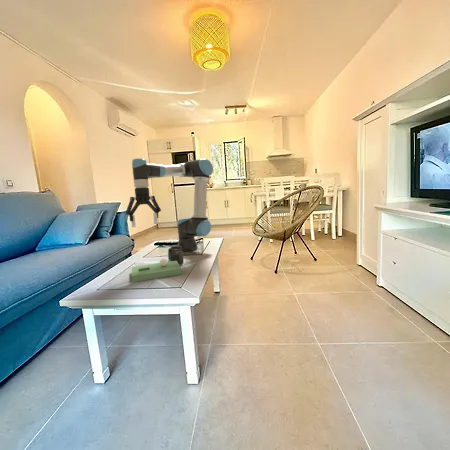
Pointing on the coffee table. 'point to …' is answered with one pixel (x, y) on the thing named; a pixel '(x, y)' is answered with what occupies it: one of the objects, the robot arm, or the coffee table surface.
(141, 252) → the coffee table surface
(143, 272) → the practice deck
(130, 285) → the coffee table surface
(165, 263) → the golf ball
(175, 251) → the camera
